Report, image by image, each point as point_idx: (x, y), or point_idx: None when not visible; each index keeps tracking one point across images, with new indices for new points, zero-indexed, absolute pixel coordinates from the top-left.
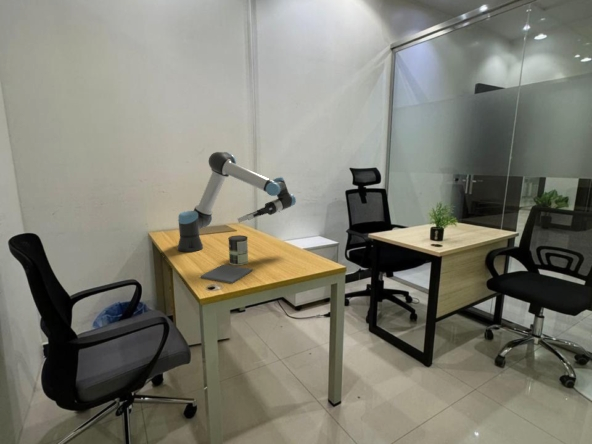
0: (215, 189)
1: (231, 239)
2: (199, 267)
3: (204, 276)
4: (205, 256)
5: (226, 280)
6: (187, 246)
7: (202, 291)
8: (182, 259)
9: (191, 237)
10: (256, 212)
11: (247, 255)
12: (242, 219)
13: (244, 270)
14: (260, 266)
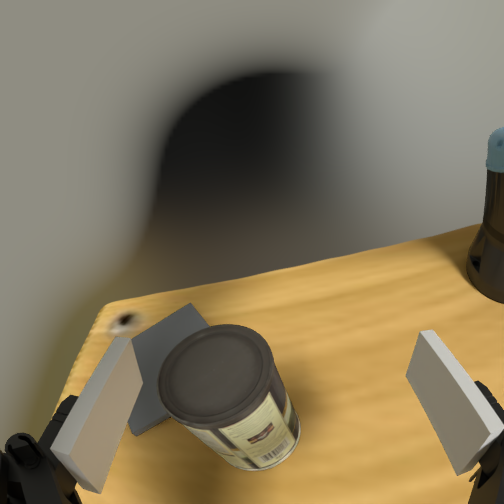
0: None
1: (197, 333)
2: (278, 306)
3: (179, 309)
4: (404, 321)
5: None
6: (471, 251)
7: (126, 305)
8: (386, 264)
9: (488, 232)
10: (60, 439)
11: (216, 452)
12: (431, 392)
13: (139, 406)
14: (153, 481)
